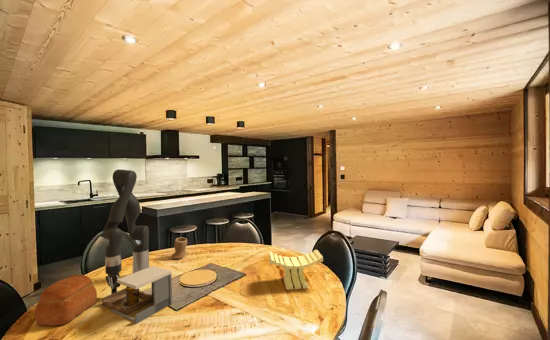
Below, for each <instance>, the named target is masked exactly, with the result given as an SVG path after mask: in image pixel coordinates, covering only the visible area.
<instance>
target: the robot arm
mask: <svg viewBox="0 0 550 340" xmlns="http://www.w3.org/2000/svg"><path fill="white" fill-rule="evenodd" d="M137 178H138V175H137V173H136V172H135V171H134V170H130V169H116V170H114V171H113V173H112V182H113V185H114V187H115V189H116V192H117V195H118V196H119V197H118V198H117V199H116V200H115V201H114V203H113V204H112V206H111V208H110V211H109V216H108V219H107V222H106V223H105V225H104V227H103V230H102V237H103V239H105V240H107V241H108V245H107V246H106V247H105V261H104V263H105V264H104V267H105V274H106V276H105V280H106V283H107V285H108V287H110V289H111V290H110V291H111V294H113V293H115V292H118V288H120V286H122V284H119V283H117V280H118V279H120V276H121V275H120V272H121V271H122V254H121V245H122V240H123V237H124V236H123V231H122V229H120V228H119V227H118V226H119V224H121V223H122V222H123V221H124V217H125V220H126V224H127V229H128V230H127V231H128V236H129V239H130V240H131V241H141V242H140V243H138V244H136V245H134V246H133V247H132V274H133V273H136V272H138V271H141V270H143V269H146V268H149V267H150V252H149V250H150V249H149V246H150V239H149V238H150V229H149V225H137V224H136V221H137V218H138V216H140V213H141V210H142V209H141V205H140V202H139V200H138V198H137V197H136V196H135V194H134V193H133V190H134V188H135V185H136V182H137ZM111 294H110V295H111Z"/></svg>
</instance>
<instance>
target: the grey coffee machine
mask: <svg viewBox="0 0 550 340" xmlns="http://www.w3.org/2000/svg"><path fill="white" fill-rule="evenodd" d="M119 278H120V277H119ZM172 282H173V281H172V270H170V269H166V268H162V267H158V266H154V265H151V266H149V268H146V269H143V270H141V271H138V272H136V273H133V272H132V273H131V274H128V275H126V276H123V277H121V278H120V279H118V280H117V283H119V284H121V286H122V285H123V286H126V287H127V286H128V287H131V288H134V289H139V290H140V288H143V287H145V286H147V285H150V284H151V295H153V297H154V300H153V304H152V305H151V306H148V307H146V308H145V309H143V310H142V311H139V312H137V313H136V314H134V317H132V316H130V315H128V314H123V313H121V312H119V311H117V310H114V309H111V308H110V312H111V313H114V314H115V315H118V316H121V317H123V318H125V319H127V320H129V321H132V322H134V323H135V325H138V324H139V323H141V322H143V321H145V320H146V319H148V318H149V317H151V316H153V315H155V314H156V313H158V312H160V311H161V310H164V309H166V308H167V307H169V306H171V305H173V285H172Z"/></svg>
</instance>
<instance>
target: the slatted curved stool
mask: <svg viewBox="0 0 550 340" xmlns="http://www.w3.org/2000/svg"><path fill="white" fill-rule="evenodd" d="M268 255H269V261H268V262H269V265H275V266H276V267H279V266H280V267H281V268H283V269H284V277H283V282H284V285H285V288H286V290H300V289H302V290H303V289H310V287H309V285H308V283H307V281H306V278H305V276H304V269H305V268H310V266H314V264H319V262H320V263H322V262H324V256H323V254H321V253H320V251H319V250H318V249H315V250H313V251H310V252H308V253H306V254H304V255H299V256H290V257H289V256H282V255H278V254H277V253H273V252H272V251H269V253H268Z"/></svg>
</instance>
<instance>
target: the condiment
mask: <svg viewBox="0 0 550 340" xmlns="http://www.w3.org/2000/svg"><path fill="white" fill-rule="evenodd" d="M125 288H126V301H124V302H122V303H120V305H121V307H122V308H124V309H127V308H129V307H131V306H133V305H135V304H137V303H139V302H141V300H140V296H139V291H140V288H139V289H134V288H131V287H128V286H126V287H125Z"/></svg>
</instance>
